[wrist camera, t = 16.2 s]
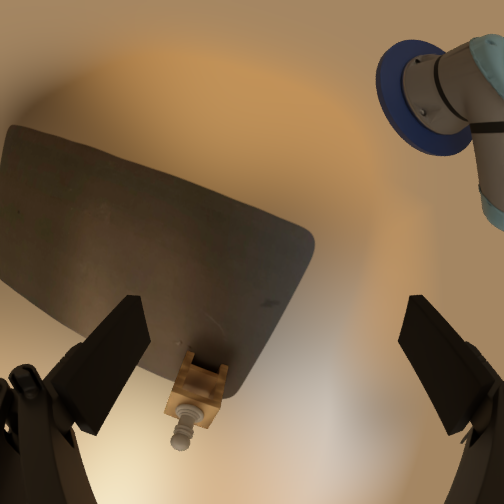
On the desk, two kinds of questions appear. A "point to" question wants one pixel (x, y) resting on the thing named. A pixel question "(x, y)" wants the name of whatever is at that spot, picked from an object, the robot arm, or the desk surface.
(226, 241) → the desk surface
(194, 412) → the chess piece
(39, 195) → the desk surface
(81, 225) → the desk surface
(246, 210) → the desk surface
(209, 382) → the shelf
